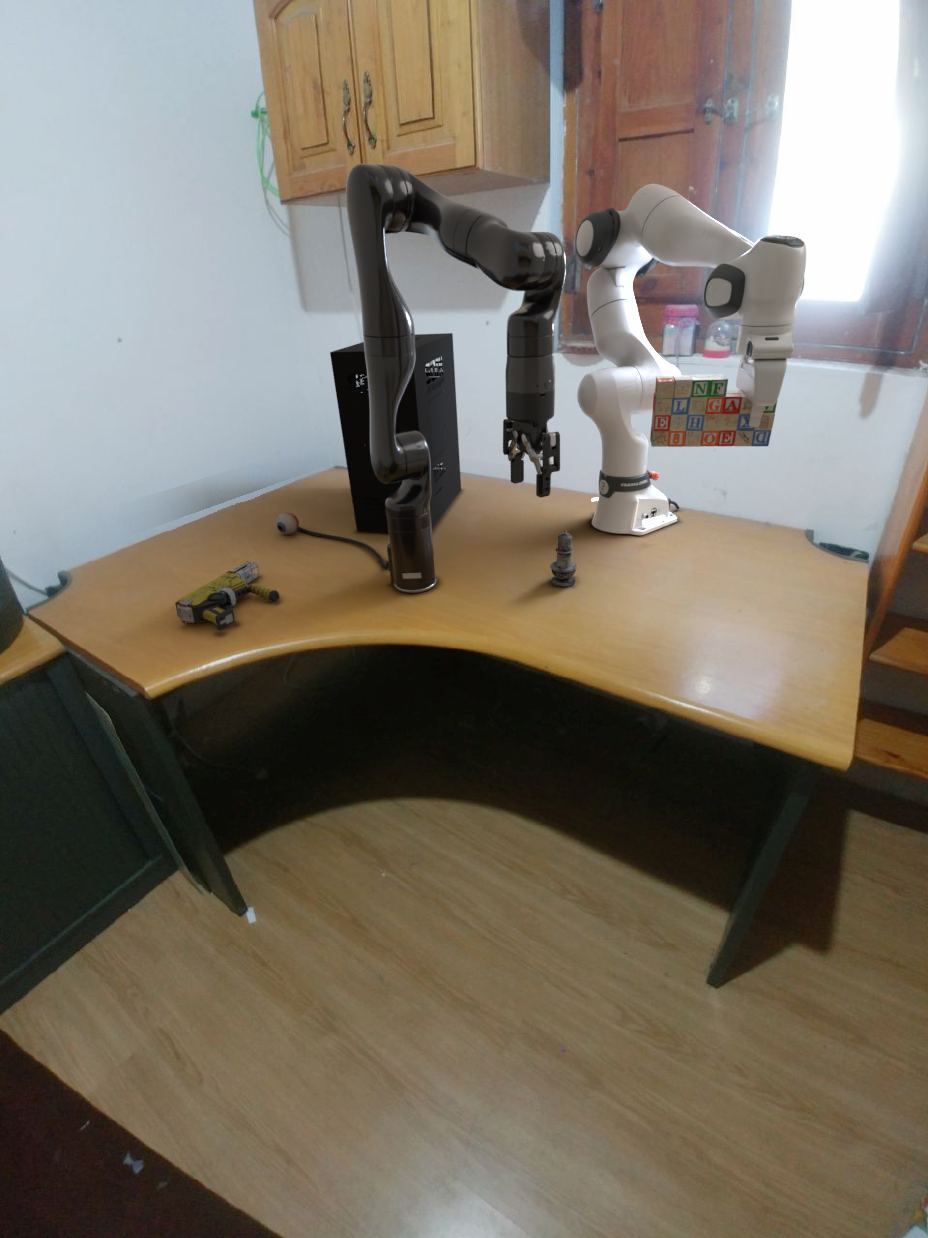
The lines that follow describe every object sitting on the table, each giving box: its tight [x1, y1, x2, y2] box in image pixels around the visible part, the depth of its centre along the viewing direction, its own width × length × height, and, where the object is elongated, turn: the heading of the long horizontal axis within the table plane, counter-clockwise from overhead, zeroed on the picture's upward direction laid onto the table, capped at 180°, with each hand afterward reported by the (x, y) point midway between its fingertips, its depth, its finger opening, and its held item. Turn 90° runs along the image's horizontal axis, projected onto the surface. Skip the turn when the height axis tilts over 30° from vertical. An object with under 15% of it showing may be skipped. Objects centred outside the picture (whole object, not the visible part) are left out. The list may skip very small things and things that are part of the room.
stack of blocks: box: [649, 373, 779, 448], centre depth 115 cm, size 21×6×12 cm, turn 78°
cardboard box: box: [329, 332, 462, 534], centre depth 166 cm, size 38×20×45 cm, turn 167°
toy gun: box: [174, 560, 280, 631], centre depth 130 cm, size 5×24×15 cm
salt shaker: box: [549, 529, 578, 587], centre depth 129 cm, size 6×6×12 cm
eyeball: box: [275, 511, 300, 536], centre depth 163 cm, size 6×6×6 cm
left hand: (529, 489), depth 100 cm, fingers open, 8 cm apart
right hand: (749, 421), depth 115 cm, fingers closed on stack of blocks, 6 cm apart
